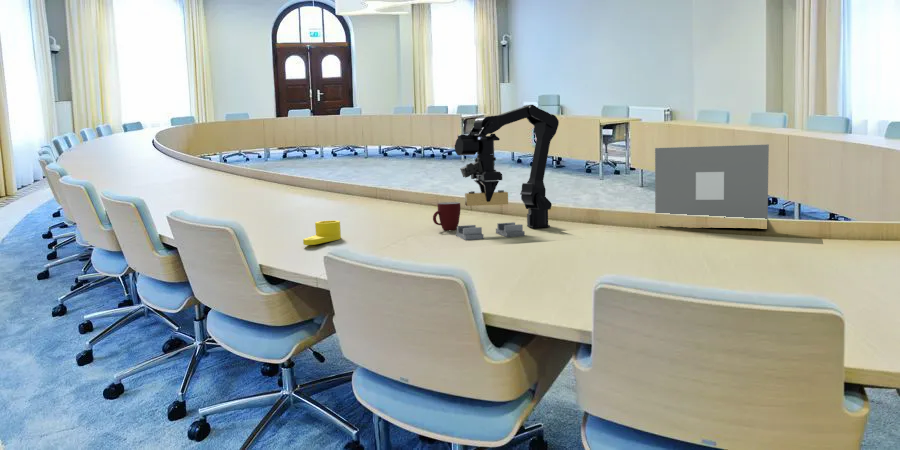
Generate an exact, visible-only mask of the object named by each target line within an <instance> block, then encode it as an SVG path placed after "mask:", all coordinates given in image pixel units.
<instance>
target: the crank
mask: <svg viewBox="0 0 900 450" xmlns="http://www.w3.org/2000/svg"><path fill="white" fill-rule="evenodd" d="M314 224H315V225H314V226H315V235H312V236H309V237H306V238H302V241H303V242H302V243H303V246H313V245H314V246H315V245H319V244H325V243H328V242H333V241H338V240H341V239H342V233H341V221H340V220H333V219H332V220H321V221H320V220H319V221H316V222H314Z"/></svg>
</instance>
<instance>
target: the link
mask: <svg viewBox="0 0 900 450" xmlns="http://www.w3.org/2000/svg"><path fill="white" fill-rule="evenodd" d="M464 204H465V206H466V207H473V206H475V207H477V206H478V207H479V206H495V205H496V206H498V205H499V206H500V205H509V192H508V191H505V190H504V189H501V190H500V189H499V190H497V191H494V193H493V196H492V198H491V201H490V202H487V200H486V195H485V192H483V193H481V192H475V191H473V190H471V191H468V192H465V193H464Z"/></svg>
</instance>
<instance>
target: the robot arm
mask: <svg viewBox="0 0 900 450" xmlns="http://www.w3.org/2000/svg"><path fill="white" fill-rule="evenodd" d="M524 119H526V120H527V121H528V123H529V124H531V125H533V128H534V129H533V132H534V135H535V137H536V138H535V139H536V140H535V146H534V150H533V157H532V163H531V168H530V173H529V178H528V180H527V182H526V183H525V182H522V184H521V190H520V194H519V195H520V199H521V201H522V203H523V205H524V206H525V209H526V210H528V213H526V223H527V224H526V226H527V227H530V228H532V229H534V228H535V229H536V228H537V229H538V228H550V227H551V225H550V224H549V211H550V210H551V208H552V202H551V201H550V199H548V198H547V196H546V190H547V189H546V186H545V183H544V179H545V174H546V168H547V162H548V155H549V151H550V145H551V141H552V139H553V138H554V137H555V135H556V133H557V132H558V131H557V130H558V128H559V125H560V124H559V123H560V122H559V121H560V120H559V119H558V118H557V116H556V115H555V114H550V112H548V111H545V110H543V109H542V108H541V109H540V108H539V107H537V106H536V105H534V104H526V105H523V106H521V107H519V108H516V109H512V110H510V111H507V112H503V113H499V114H497V115H490V116H481V117H477V118H475V120H474V122H473V126H472V128H471V130H470V131H469V132H468V134H457V138H456V141H455V142H454V143H455V144H454V151H455V153H456V155H457V156H475V155H476V157H475V158H474V162H469V163H468V164H466V165H465V166H462V167H461V168H460V172H461V174H462V177H463V178H464V179H465V178H469V177H470V179H471V180H473V181H474V183H476V184H477V185H478V186H479V189H480V193H483V192H485V195H486V200H487V202H490V201H491V198H492V196H493V193H494V192H496V191H495V190H496V189H497V186H498V184H499V182H500V181H503V174H502V173H501V171H497V169H495V161H496V160H497V157H495V141H496V142H497V141H500V138H499V137H498V136H497V135H496V133H495V132H497V131H499V130H500V129H501V128H502V127H504V126H506V125H509V124H512V123H514V122H518V121H521V120H524ZM489 134H490V135H489ZM479 138H480V139H479Z"/></svg>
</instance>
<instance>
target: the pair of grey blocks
mask: <svg viewBox="0 0 900 450" xmlns="http://www.w3.org/2000/svg"><path fill="white" fill-rule="evenodd" d="M523 225H524V224H516V222H515V221H513V222H499V223H497V225H496V226H497V228H495V234H498V235H500V236H503V237H505V238H517V237H525V236H526V235H525V230H523V228H524V227H523ZM482 229H483V227H481V226H478V227H476V224H469V225H468V224H467V225H465V224H464V225H458V226H457V229H456V231H455V236H456V237H458V238H460V239H462V240H464V241H472V240H484V234H483V233H482V232H483V230H482Z"/></svg>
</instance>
